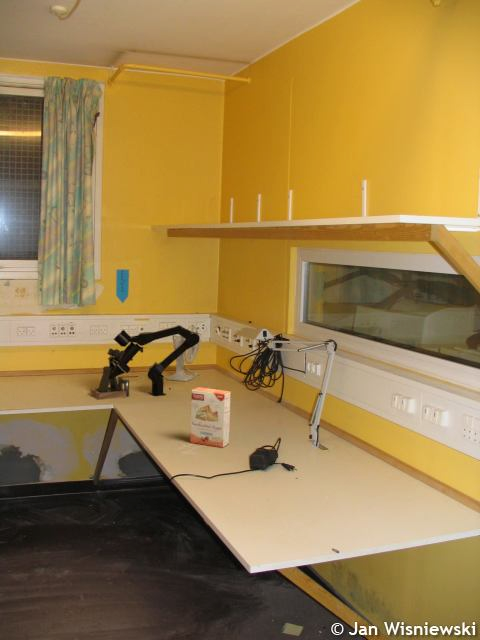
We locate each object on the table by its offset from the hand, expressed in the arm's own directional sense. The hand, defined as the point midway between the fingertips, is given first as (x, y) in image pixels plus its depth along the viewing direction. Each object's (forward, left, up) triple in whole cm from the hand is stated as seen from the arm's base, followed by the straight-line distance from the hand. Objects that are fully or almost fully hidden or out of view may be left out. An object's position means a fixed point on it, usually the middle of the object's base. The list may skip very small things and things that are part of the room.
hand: (107, 377), depth 344 cm
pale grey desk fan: (+28, -56, -10) cm, 63 cm away
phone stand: (0, -1, -7) cm, 7 cm away
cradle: (0, -1, -9) cm, 9 cm away
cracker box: (-92, -5, -10) cm, 93 cm away
